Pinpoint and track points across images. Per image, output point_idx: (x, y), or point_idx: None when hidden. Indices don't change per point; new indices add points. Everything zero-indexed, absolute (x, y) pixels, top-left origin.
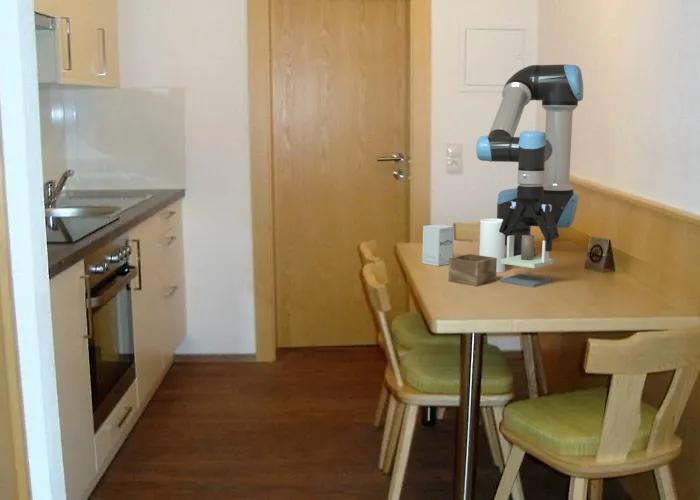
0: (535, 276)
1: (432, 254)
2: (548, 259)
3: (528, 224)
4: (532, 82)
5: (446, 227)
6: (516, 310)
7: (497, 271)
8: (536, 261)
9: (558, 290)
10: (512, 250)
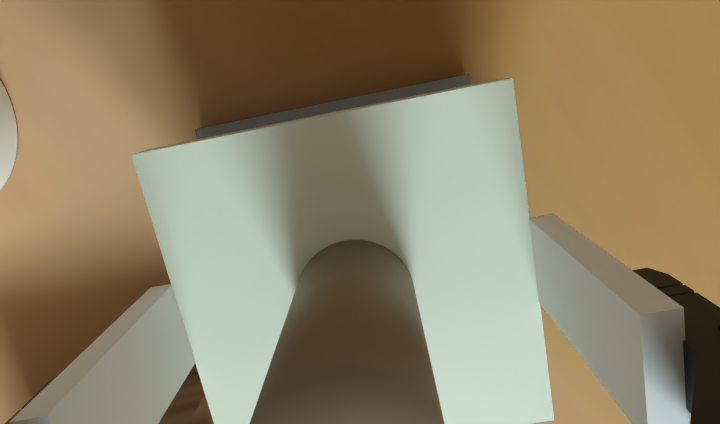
0: (331, 108)
1: None
2: (561, 222)
3: None
4: None
5: None
6: None
7: (9, 159)
8: (486, 313)
9: (657, 262)
10: (152, 332)
